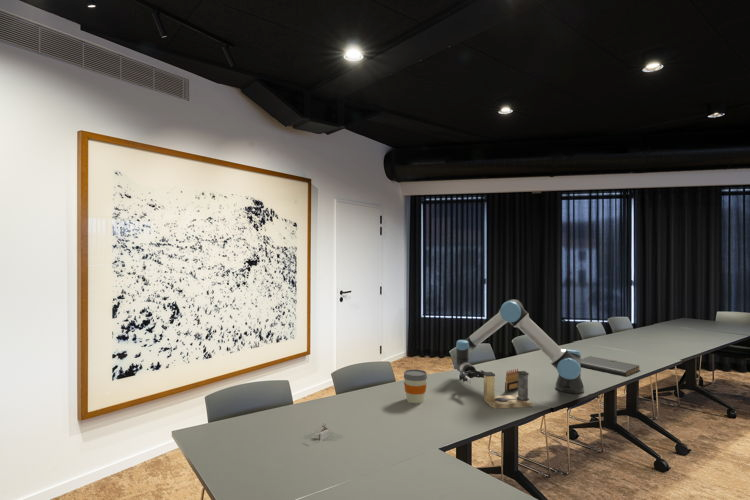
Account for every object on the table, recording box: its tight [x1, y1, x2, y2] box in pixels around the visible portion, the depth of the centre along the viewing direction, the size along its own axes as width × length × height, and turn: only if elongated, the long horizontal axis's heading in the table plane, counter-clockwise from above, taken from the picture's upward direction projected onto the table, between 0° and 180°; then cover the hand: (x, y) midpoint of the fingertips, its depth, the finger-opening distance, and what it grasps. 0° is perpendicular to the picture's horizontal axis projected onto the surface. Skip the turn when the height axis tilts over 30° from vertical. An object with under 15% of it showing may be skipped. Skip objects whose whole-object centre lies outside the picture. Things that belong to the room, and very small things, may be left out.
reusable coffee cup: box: [403, 368, 428, 404], centre depth 226 cm, size 13×13×15 cm
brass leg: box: [483, 371, 496, 402], centre depth 220 cm, size 5×5×14 cm
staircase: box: [311, 422, 330, 442], centre depth 179 cm, size 6×4×6 cm, turn 141°
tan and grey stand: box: [483, 370, 533, 409], centre depth 222 cm, size 22×12×16 cm, turn 98°
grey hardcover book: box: [581, 355, 640, 377], centre depth 292 cm, size 33×4×24 cm
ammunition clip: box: [504, 368, 519, 393], centre depth 243 cm, size 11×2×12 cm, turn 123°
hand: (482, 381), depth 229 cm, fingers open, 13 cm apart
